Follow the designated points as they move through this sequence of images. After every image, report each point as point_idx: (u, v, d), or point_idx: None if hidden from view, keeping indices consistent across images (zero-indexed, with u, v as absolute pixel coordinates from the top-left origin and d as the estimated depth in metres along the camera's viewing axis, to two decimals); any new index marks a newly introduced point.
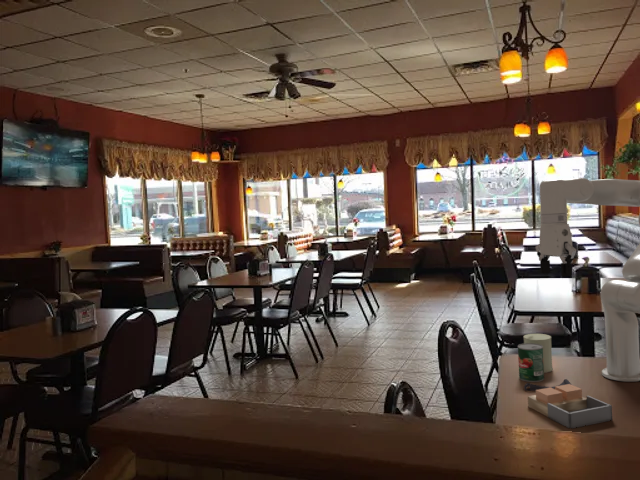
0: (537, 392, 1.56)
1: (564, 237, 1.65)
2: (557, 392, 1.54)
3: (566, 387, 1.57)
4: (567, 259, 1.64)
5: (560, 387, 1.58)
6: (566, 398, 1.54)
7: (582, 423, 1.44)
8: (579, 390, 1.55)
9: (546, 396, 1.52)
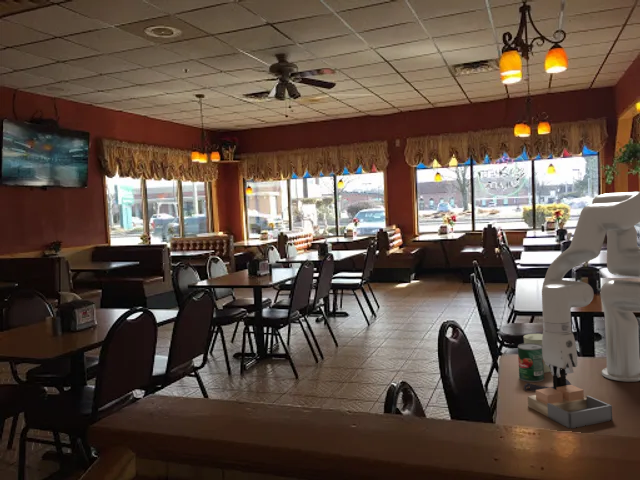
0: (537, 392, 1.56)
1: (568, 349, 1.55)
2: (557, 392, 1.54)
3: (568, 388, 1.57)
4: (561, 373, 1.58)
5: (562, 388, 1.57)
6: (568, 399, 1.54)
7: (582, 423, 1.44)
8: (581, 391, 1.54)
9: (546, 396, 1.52)
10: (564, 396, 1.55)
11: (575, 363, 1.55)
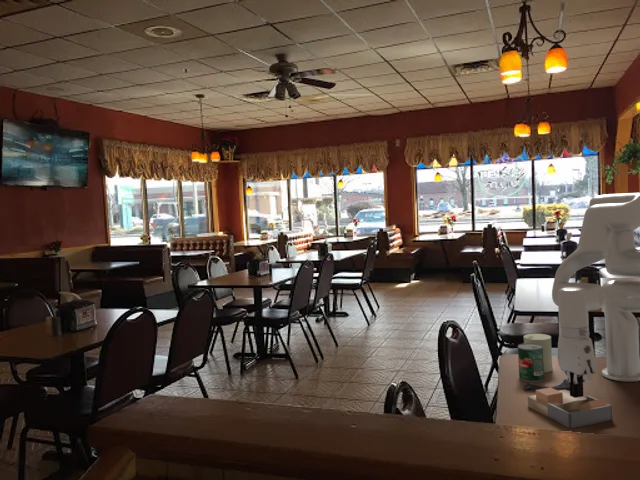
0: (537, 392, 1.56)
1: (586, 355, 1.48)
2: (557, 392, 1.54)
3: None
4: (578, 380, 1.51)
5: None
6: (579, 407, 1.50)
7: (582, 423, 1.44)
8: None
9: (546, 396, 1.52)
10: (582, 407, 1.48)
11: (593, 369, 1.49)
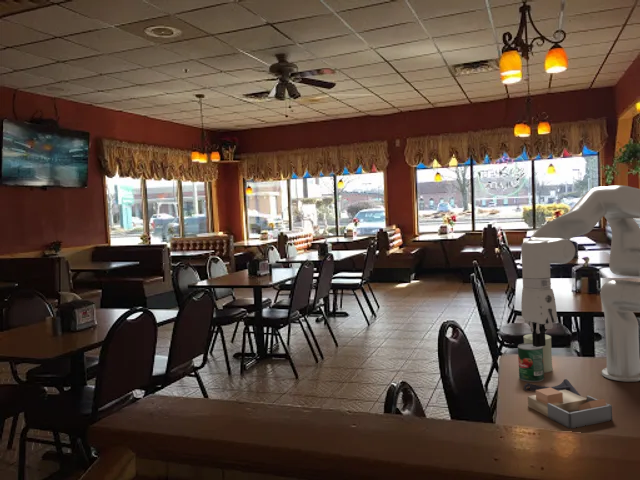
0: (537, 392, 1.56)
1: (548, 304, 1.54)
2: (557, 392, 1.54)
3: None
4: (541, 329, 1.57)
5: None
6: (579, 407, 1.50)
7: (582, 423, 1.44)
8: None
9: (546, 396, 1.52)
10: (582, 407, 1.48)
11: (554, 318, 1.55)
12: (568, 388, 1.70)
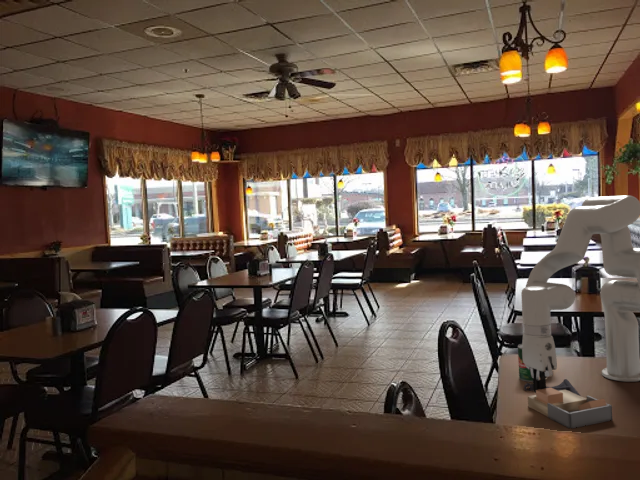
0: (537, 392, 1.56)
1: (547, 351, 1.54)
2: (557, 392, 1.54)
3: None
4: (541, 376, 1.57)
5: None
6: (579, 407, 1.50)
7: (582, 423, 1.44)
8: None
9: (546, 396, 1.52)
10: (582, 407, 1.48)
11: (554, 366, 1.54)
12: (568, 388, 1.70)
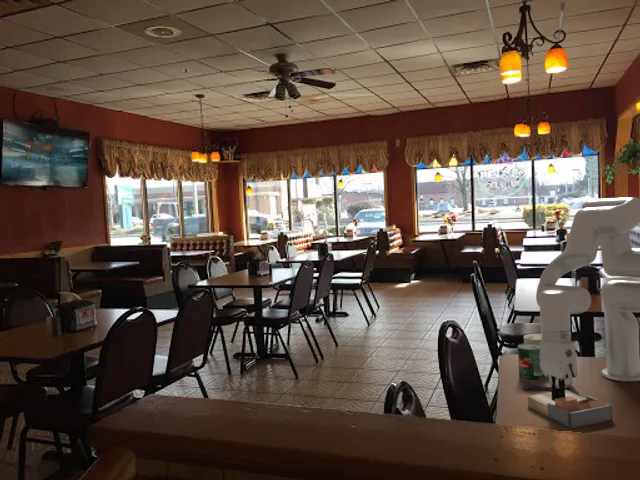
0: (560, 404, 1.47)
1: (568, 358, 1.46)
2: None
3: None
4: (560, 384, 1.49)
5: None
6: (579, 407, 1.50)
7: (582, 423, 1.44)
8: None
9: None
10: (582, 407, 1.48)
11: (575, 373, 1.47)
12: (568, 388, 1.70)
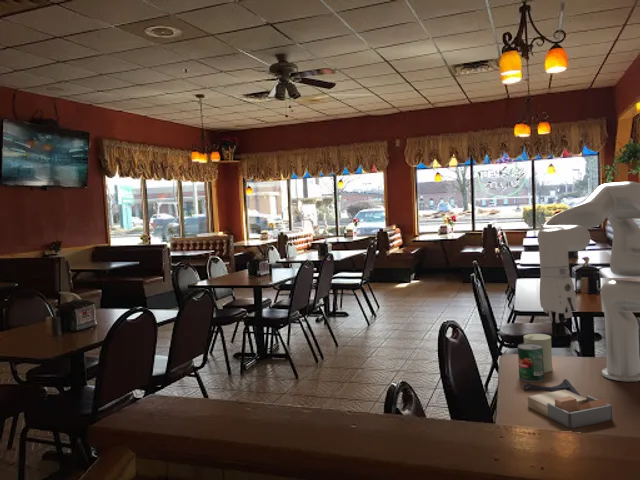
0: (559, 404, 1.47)
1: (567, 293, 1.51)
2: None
3: None
4: (560, 318, 1.54)
5: None
6: (579, 407, 1.50)
7: (582, 423, 1.44)
8: None
9: None
10: (582, 407, 1.48)
11: (574, 307, 1.52)
12: (568, 388, 1.70)
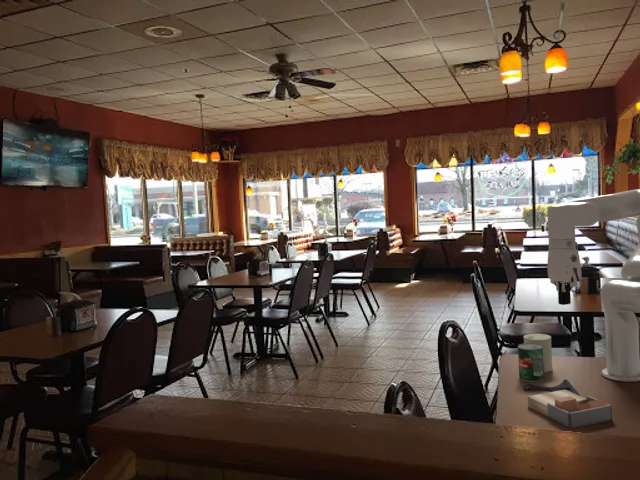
0: (559, 404, 1.47)
1: (573, 263, 1.63)
2: None
3: None
4: (566, 288, 1.66)
5: None
6: (579, 407, 1.50)
7: (582, 423, 1.44)
8: None
9: None
10: (582, 407, 1.48)
11: (579, 277, 1.64)
12: (568, 388, 1.70)
